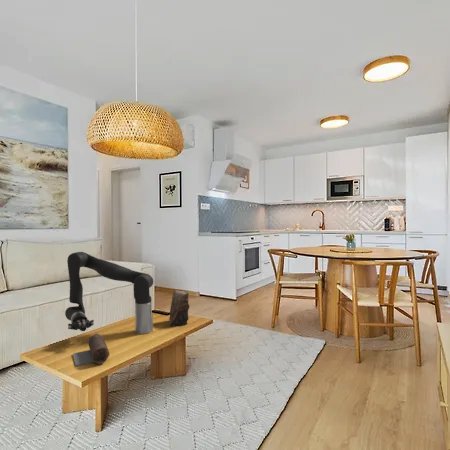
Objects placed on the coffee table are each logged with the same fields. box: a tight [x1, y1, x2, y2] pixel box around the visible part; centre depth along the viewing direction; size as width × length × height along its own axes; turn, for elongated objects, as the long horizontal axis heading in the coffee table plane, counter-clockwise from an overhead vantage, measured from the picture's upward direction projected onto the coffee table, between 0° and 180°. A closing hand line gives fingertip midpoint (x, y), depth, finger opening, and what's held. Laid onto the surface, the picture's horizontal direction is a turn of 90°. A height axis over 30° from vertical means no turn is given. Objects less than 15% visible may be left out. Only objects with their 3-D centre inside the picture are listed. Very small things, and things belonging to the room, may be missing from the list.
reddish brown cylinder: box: [87, 333, 110, 365], centre depth 146 cm, size 8×7×20 cm
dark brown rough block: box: [168, 289, 190, 327], centre depth 194 cm, size 13×13×20 cm
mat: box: [72, 349, 95, 367], centre depth 145 cm, size 11×14×1 cm
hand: (83, 329), depth 155 cm, fingers closed
